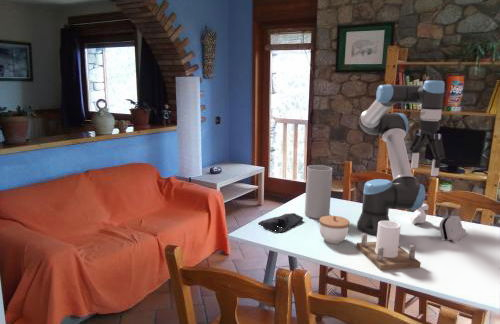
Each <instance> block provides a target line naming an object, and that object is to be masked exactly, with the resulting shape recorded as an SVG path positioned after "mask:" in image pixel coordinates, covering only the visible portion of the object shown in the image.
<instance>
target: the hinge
mask: <svg viewBox="0 0 500 324" xmlns="http://www.w3.org/2000/svg"><path fill="white" fill-rule="evenodd" d="M439 230H440V231H439V232H440V235H441V240H442V241H446V240H448V241H452V243H453V244H455V243H456V242H458V241H459V240H460V239H462V238H463V237H464V236H466V235H467V230H466V229H465V228H464V227H463V225H462V221H461V218H460V216H458V215H449V216H445V217H444V218H442V220H441V221H440V222H439Z"/></svg>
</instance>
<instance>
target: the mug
mask: <svg viewBox="0 0 500 324" xmlns="http://www.w3.org/2000/svg"><path fill="white" fill-rule="evenodd" d="M400 233H401V224H400V223H398V222H396V221H393V220H389V221H379V222H378V231H377V235H376V241H375V242H376V249H375V253H376V254H378V247H383V248H384V251H383V257H386V258H394V257H397V256H398V246H399V245H400V244H399V243H400V242H399V241H400V235H401V234H400Z"/></svg>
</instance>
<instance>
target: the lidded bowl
mask: <svg viewBox="0 0 500 324" xmlns="http://www.w3.org/2000/svg"><path fill="white" fill-rule="evenodd" d="M318 222H319V226H318V227H319V233H320V236H321V237H322V238H323V240H324V242H327V243H328V244H332V245H333V244H335V245H337V244H341V243H342V242H343V241H344V240H345V239H346V238H347V236H348V233H349V228H350V220H349V219H348V218H345V217H342V216H339V215H329V216H323V217H321V218H320V219H319V221H318Z"/></svg>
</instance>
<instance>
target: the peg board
mask: <svg viewBox="0 0 500 324" xmlns="http://www.w3.org/2000/svg"><path fill="white" fill-rule="evenodd" d="M355 245H356V246H355V247H356V249H357V250H358V251H359V252H360V253H362V255H364V256H365V257H366V258H367V259H368V260H369V261H370V262H371V264H373V265H374V266H375V267H376V268H377V269H378V270H379V271H386V270H387V271H389V270H403V269H420V268H421V263H422V262H421V261H419V259H417V258H416V249H417V247H416V245H413V244H410V245H409V252H408V251H406V250H404V248H402V247H401V246H400V245H398V256H397V257H394V258H386V257H383V251H384V248H383V247H378V254H376V253H375V249H376V241H368V234H367V233H362V236H361V242H356V244H355Z"/></svg>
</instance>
